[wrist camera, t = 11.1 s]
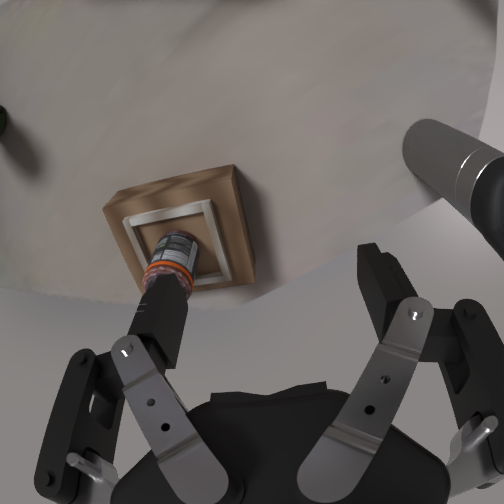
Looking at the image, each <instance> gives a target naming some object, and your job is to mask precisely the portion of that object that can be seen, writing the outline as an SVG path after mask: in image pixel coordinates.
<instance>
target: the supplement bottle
mask: <svg viewBox="0 0 504 504" xmlns="http://www.w3.org/2000/svg"><path fill="white" fill-rule="evenodd" d="M199 256H200V246H199V243H198V242H197V240H196V239H195V238H194V237H193V236H192V235H191V234H189V233H187V232H185V231H182V230H172V231H169V232H167V233H165V234H164V235H163V236H162V237H161V238H160V240H159V241H158V243H157V246H156V248H155V250H154V252H153V254H152V257H151V259H150V261H149V264H148V266H147V268H146V271H145V273H144V276H143V280H142V285H143V290H144V292H146V291H147V290H148V289H149V288H150V287H153V286H154V283H155V281H156V278H157V276H158V275H164V274H170V273H175V274H176V276H177V278H178V280H179V283H180V285H181V287H182V290H183V292H184V294H185V297H186V299H187V300H188V299H189V297H190V295H191V292H192V288H193V284H194V279H195V274H196V270H197V265H198V261H199Z"/></svg>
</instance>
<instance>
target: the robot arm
mask: <svg viewBox="0 0 504 504" xmlns="http://www.w3.org/2000/svg"><path fill="white" fill-rule="evenodd" d="M403 157H404V160H405V163H406V164H407V166H408V168H409V169H410V170H411V171H412V172H413V173H415V174H416V175H417V176H418V177H420V178H421V179H422V180H423V181H424V182H426V183H427V184H428V185H429V186H430V187H432V188H433V189H434V190H435V191H436V192H437V193H439V194H440V195H441V196H442V197H443V198H444V199H445V200H447V201H448V202H449V203H450V204H451V205H452V206H453V207H454V208H455V209H457V210H458V211H459V212H460V213H461V214H462V215H463V216H464V217H465V218H466V219H467V220H468V221H469V222H470V223H471V224H472V225H473V226H474V227H476V228H477V229H478V230H479V231H480V233H481V234H482V235H483V237H484V238H485V240H486V241H487V242H488V243H489V244H490V245H491V246H492V248H493V249H494V250H495V251H496V252H497V253H498V255H499V256H500V257H501V258H502V259H503V261H504V153H503V152H501V151H499V150H497V149H495V148H493V147H491V146H489V145H487V144H486V143H484V142H481V141H480V140H478V139H476V138H474V137H472V136H470V135H467V134H465V133H463V132H461V131H459V130H457V129H454V128H452V127H450V126H448V125H446V124H443V123H441V122H439V121H436V120H432V119H424V120H420V121H418V122H416V123H415V124H414V125H413V126H411V128H410V129H409V130H408V132H407V134H406V136H405V138H404V142H403ZM357 279H358V284H359V288H360V290H361V293H362V296H363V298H364V301H365V303H366V306H367V309H368V312H369V314H370V317H371V320H372V323H373V325H374V328H375V331H376V334H377V337H378V339H379V343H378V345H377V346H376V348H375V350H374V353H373V354H372V356H371V358H370V360H369V362H368V364H367V366H366V368H365V369H364V371H363V373H362V375H361V377H360V378H359V380H358V382H357V384H356V386H355V388H354V389H353V391H352V392H351V394H348V393H346V392H343V391H339V390H333V389H327V385H326V381H324V382H318V383H311V384H304V385H297V386H295V387H292V388H289V389H286V390H283V391H280V392H277V393H274V394H271V395H258V394H250V393H244V392H224V393H211V398H210V401H209V402H206V403H203V404H201V405H199V406H197V407H195V408H194V409H192V410H190V411H188V409H187V408H186V407H185V405H184V404H183V402H182V401H181V399H180V398H179V396H178V395H177V393H176V392H175V390H174V389H173V387H172V386H171V384H170V382H169V381H168V379H167V378H166V376H165V371H166V369H175V367H176V363H177V357H178V353H179V348H180V344H181V339H182V334H183V330H184V325H185V321H186V317H187V312H188V303H187V299H186V297H185V294H184V292H183V290H182V287H181V285H180V283H179V280H178V278H177V276H176V274H175V273H170V274H164V275H158V276H157V278H156V281H155V283H154V286H153V287H150V288H149V289H148V290H147V291H146V292H145V293H144V294H143V296H142V298H141V301H140V303H139V306H138V308H137V312H136V313H135V316H134V319H133V321H132V324H131V326H130V329H129V332H128V334H127V336H123V337H121V338H120V339H118V340H117V341H116V342H115V343H114V345H113V346H112V349H111V351H109V352H106V353H103V354H100V355H97V356H96V355H95V353H94V352H93V351H92V350H91V349H82V350H79V351H78V352H76V353H75V354H74V355H73V356H72V358H71V359H70V361H69V364H68V367H67V369H66V372H65V375H64V377H63V380H62V383H61V386H60V389H59V391H58V394H57V397H56V400H55V403H54V406H53V409H52V412H51V415H50V419H49V423H48V425H47V429H46V432H45V436H44V439H43V443H42V447H41V450H40V454H39V458H38V463H37V467H36V471H35V475H34V485H35V488H36V490H37V492H38V493H39V494H40V495H41V496H43V497H45V498H47V499H49V500H52V501H54V502H56V503H57V504H447V501H448V499H449V498H451V497H454V496H456V495H459V494H461V493H464V492H466V491H469V490H471V489H474V488H478V489H485V488H488V487H489V486H492V485H493V484H495V483H497V482H499V481H501V480H503V479H504V344H503V342H502V341H501V339H500V337H499V335H498V333H497V331H496V329H495V327H494V325H493V323H492V322H491V320H490V318H489V316H488V314H487V313H486V311H485V309H484V307H483V306H482V305H481V304H480V303H479V302H477V301H475V300H472V299H463V300H460V301H458V302H457V303H456V304H455V306H454V309H436V308H433V306H432V305H431V303H430V302H429V301H427V300H425V299H423V298H421V297H418V295H417V293H416V291H415V289H414V288H413V286H412V284H411V282H410V281H409V279H408V277H407V275H406V274H405V272H404V270H403V268H401V265H400V263H399V262H398V260H397V258H395V257H394V256H393V255H391V254H390V253H388V252H386V253H381V252H380V250H379V248H378V246H377V245H376V243H368V244H362V245H358V248H357ZM418 362H438V364H439V367H440V369H441V372H442V375H443V378H444V381H445V384H446V388H447V390H448V394H449V397H450V400H451V404H452V407H453V411H454V414H455V417H456V421H457V425H458V429H459V431H458V432H457V433H456V434H455V435H454V437H453V438H452V441H451V444H450V458H449V461H448V463H447V465H446V466H445V464H444V463H443V462H442V461H441V460H440V459H439V458H438V457H437V456H435V455H434V454H432V453H431V452H430V451H428V450H427V449H425V448H424V447H423V446H421V445H420V444H418V443H417V442H416V441H414V440H413V439H411V438H410V437H409V436H407V435H406V434H405V433H403V432H402V431H400V430H399V429H398V428H396V427H395V426H394V425H392V424H391V423H392V421H393V419H394V417H395V415H396V413H397V410H398V408H399V406H400V404H401V402H402V399H403V397H404V395H405V393H406V390H407V388H408V386H409V383H410V381H411V378H412V375H413V373H414V371H415V368H416V366H417V363H418ZM92 394H93V395H94V396H95V397H94V401H93V404H92V409H91V412H89V405H90V401H91V398H92ZM125 398H126V400H127V402H128V404H129V406H130V408H131V410H132V412H133V414H134V416H135V419H136V420H137V422H138V424H139V426H140V428H141V430H142V432H143V434H144V436H145V438H146V440H147V441H148V443H149V445H150V447H151V450H150V451H149V452H148V453H147V454H146V455H145V456H144V457H143V458H142V459H141V460H140V461H139V462H138V463H137V464H136V465H135V466H134V467H133V468H132V469H131V470H130V471H129V472H128V473H127V474H126V475H124V476H123V477H122V478H121V479H120V480H119V478H118V474H117V470H116V468H115V467H114V466H113V460H114V454H115V448H116V442H117V436H118V431H119V426H120V421H121V416H122V411H123V406H124V402H125Z"/></svg>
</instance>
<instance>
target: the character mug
mask: <svg viewBox="0 0 504 504" xmlns="http://www.w3.org/2000/svg"><path fill="white" fill-rule="evenodd" d="M0 109H2V107H1V106H0ZM5 122H6V121H5V114H4V113H2V114H0V135H1V134H2V132H3V130H4V128H5Z"/></svg>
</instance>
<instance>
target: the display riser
mask: <svg viewBox="0 0 504 504" xmlns="http://www.w3.org/2000/svg"><path fill="white" fill-rule="evenodd" d="M102 209H103V212H104V214H105V217H106V219H107V221H108V224H109V226H110V228H111V231H112V233H113V235H114V237H115V240H116V242H117V244H118V246H119V248H120V251H121V253H122V255H123V257H124V259H125V261H126V263H127V265H128V268H129V270H130V272H131V274H132V276H133V278H134V280H135V282H136V284H137V286H138V288H139V290H140V292H141V294H142V295H143V294H144V293H145V292H144V290H143V285H142V280H143V276H144V273H145V271H146V268H147V266H148V264H149V261H150V259H151V257H152V254H153V252H154V250H155V248H156V246H157V243H158V241H159V240H160V238H161V237H162V236H163V235H164V234H165V233H167V232H169V231H172V230H182V231H185V232H187V233H189V234H191V235H192V236H193V237H194V238H195V239H196V240H197V242H198V243H199V246H200V256H199V261H198V265H197V270H196V274H195V279H194V284H193V288H192V292H193V291H201V290H208V289H216V288H223V287H231V286H238V285H245V284H252V283H255V257H254V252H253V248H252V243H251V239H250V234H249V230H248V225H247V221H246V216H245V212H244V207H243V203H242V199H241V194H240V190H239V185H238V181H237V176H236V172H235V167H234V164H232V165H227V166H222V167H217V168H212V169H207V170H202V171H198V172H193V173H189V174H184V175H180V176H175V177H171V178H167V179H163V180H159V181H155V182H151V183H147V184H143V185H139V186H135V187H132V188H128V189H124V190H121V191H118V192H117V193H116V194H115V195H114V196H113V197H112V198H111V200H110V201H109V202H108V203H107V204H106V205H105V206H104V207H103V208H102Z"/></svg>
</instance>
